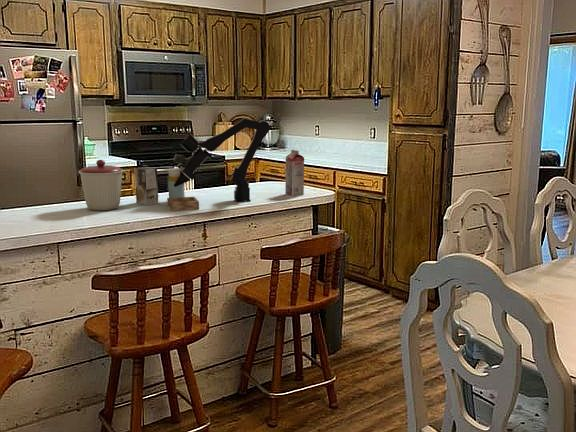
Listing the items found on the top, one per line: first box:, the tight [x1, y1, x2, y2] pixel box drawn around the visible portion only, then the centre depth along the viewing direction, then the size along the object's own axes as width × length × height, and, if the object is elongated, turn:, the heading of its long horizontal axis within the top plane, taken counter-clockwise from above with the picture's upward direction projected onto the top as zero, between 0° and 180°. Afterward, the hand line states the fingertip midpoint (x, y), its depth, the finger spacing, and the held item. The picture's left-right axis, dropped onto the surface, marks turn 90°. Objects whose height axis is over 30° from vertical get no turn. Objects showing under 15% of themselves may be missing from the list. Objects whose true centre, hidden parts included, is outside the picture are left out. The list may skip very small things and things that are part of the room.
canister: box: [78, 159, 124, 212], centre depth 239 cm, size 18×18×21 cm
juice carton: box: [284, 149, 305, 197], centre depth 278 cm, size 7×7×22 cm
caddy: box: [166, 196, 200, 212], centre depth 245 cm, size 12×12×4 cm
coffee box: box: [133, 166, 159, 206], centre depth 252 cm, size 9×6×16 cm
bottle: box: [167, 167, 186, 198], centre depth 256 cm, size 7×7×15 cm
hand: (173, 185), depth 255 cm, fingers closed on bottle, 7 cm apart
